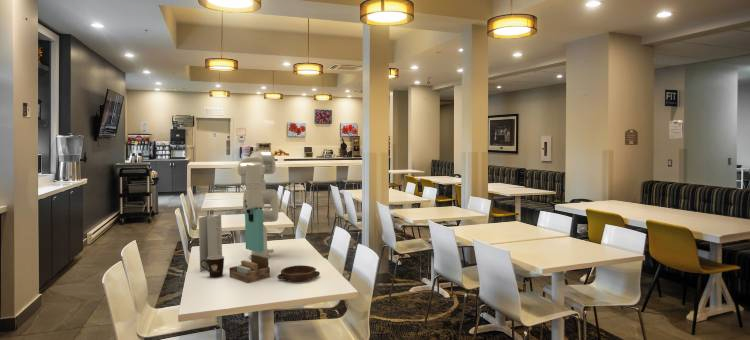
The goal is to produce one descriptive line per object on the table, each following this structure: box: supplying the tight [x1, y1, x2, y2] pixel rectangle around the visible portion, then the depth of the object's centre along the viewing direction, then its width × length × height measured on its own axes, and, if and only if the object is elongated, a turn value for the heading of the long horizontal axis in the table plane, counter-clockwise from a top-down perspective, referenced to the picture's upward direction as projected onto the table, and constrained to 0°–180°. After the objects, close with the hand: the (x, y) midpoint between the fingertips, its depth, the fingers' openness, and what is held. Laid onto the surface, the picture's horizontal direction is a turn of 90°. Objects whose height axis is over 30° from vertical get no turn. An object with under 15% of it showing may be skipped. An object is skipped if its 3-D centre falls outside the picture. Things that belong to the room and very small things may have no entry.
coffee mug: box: [199, 255, 225, 278], centre depth 251 cm, size 12×9×10 cm
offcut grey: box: [236, 265, 251, 275], centre depth 245 cm, size 2×10×6 cm, turn 49°
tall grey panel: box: [198, 213, 223, 273], centre depth 264 cm, size 14×6×30 cm, turn 168°
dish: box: [276, 264, 320, 283], centre depth 245 cm, size 18×22×5 cm
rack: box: [228, 254, 271, 284], centre depth 248 cm, size 14×16×10 cm
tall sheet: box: [244, 208, 264, 252], centre depth 249 cm, size 3×12×22 cm, turn 49°
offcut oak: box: [240, 259, 258, 271], centre depth 248 cm, size 2×12×8 cm, turn 49°
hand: (253, 220), depth 249 cm, fingers closed on tall sheet, 3 cm apart
